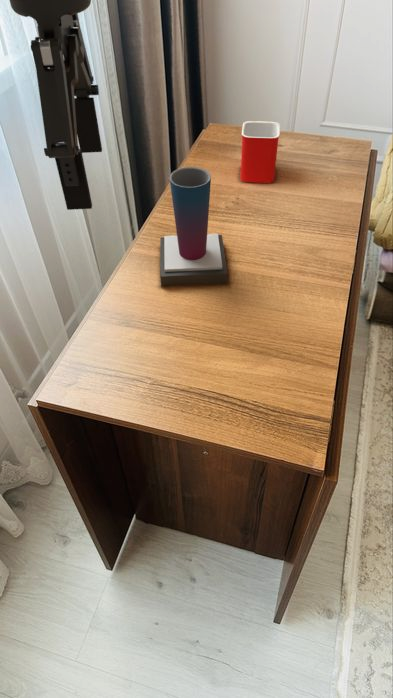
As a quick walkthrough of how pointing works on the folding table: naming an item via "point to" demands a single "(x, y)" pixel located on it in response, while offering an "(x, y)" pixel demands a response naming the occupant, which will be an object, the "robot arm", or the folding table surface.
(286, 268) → the folding table surface
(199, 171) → the cup
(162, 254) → the scale
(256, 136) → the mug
